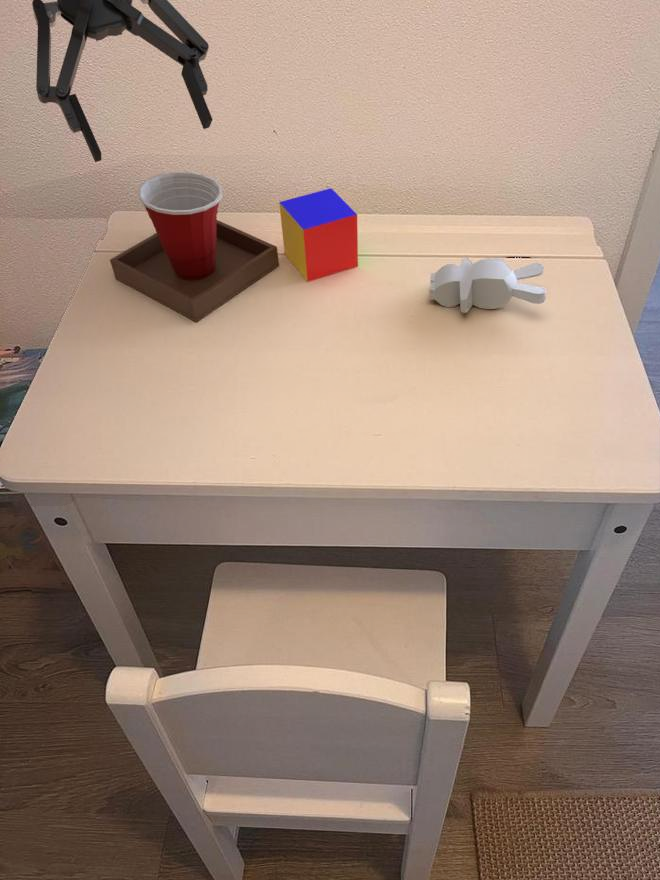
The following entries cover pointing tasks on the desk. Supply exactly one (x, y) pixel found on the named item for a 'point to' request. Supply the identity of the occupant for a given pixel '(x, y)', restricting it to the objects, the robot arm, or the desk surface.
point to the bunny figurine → (484, 284)
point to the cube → (319, 234)
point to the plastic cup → (184, 219)
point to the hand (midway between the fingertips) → (154, 141)
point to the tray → (234, 272)
